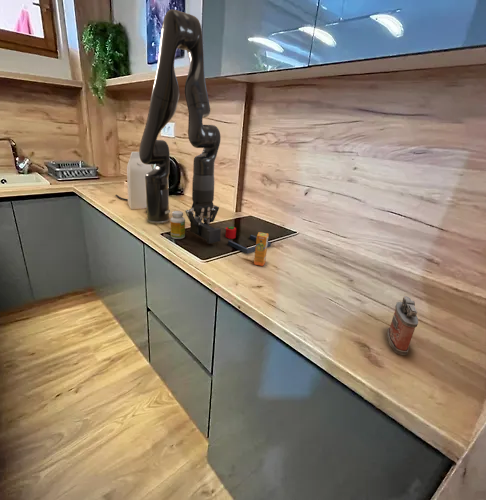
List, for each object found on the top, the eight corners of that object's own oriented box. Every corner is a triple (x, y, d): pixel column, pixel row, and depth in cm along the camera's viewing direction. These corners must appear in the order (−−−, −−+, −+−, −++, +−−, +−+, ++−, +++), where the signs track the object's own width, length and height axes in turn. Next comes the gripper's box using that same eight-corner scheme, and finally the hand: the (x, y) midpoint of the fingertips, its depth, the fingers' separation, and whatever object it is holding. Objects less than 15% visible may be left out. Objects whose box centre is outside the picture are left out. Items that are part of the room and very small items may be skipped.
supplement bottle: (182, 240, 112) (182, 214, 109) (168, 238, 113) (168, 213, 110) (186, 235, 117) (186, 210, 113) (173, 233, 118) (173, 209, 114)
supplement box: (253, 264, 95) (255, 234, 91) (255, 260, 98) (258, 231, 94) (263, 266, 94) (266, 236, 90) (265, 262, 97) (269, 233, 93)
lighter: (384, 328, 68) (396, 290, 64) (401, 332, 67) (414, 293, 63) (392, 352, 61) (405, 311, 57) (410, 356, 60) (426, 314, 56)
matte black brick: (187, 231, 114) (187, 220, 112) (198, 229, 117) (198, 218, 115) (208, 243, 105) (209, 231, 103) (220, 240, 108) (220, 229, 106)
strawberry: (223, 236, 118) (223, 226, 116) (231, 234, 120) (231, 225, 119) (230, 239, 115) (230, 229, 114) (237, 237, 117) (238, 227, 116)
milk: (151, 201, 161) (148, 150, 151) (156, 207, 151) (153, 153, 141) (127, 203, 156) (123, 150, 146) (131, 209, 147) (127, 153, 136)
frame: (227, 244, 110) (228, 240, 110) (251, 238, 117) (251, 234, 117) (246, 253, 103) (247, 249, 103) (270, 246, 110) (271, 242, 110)
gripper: (212, 183, 111) (210, 227, 118) (180, 187, 103) (180, 234, 110) (225, 187, 106) (223, 233, 113) (192, 191, 97) (191, 241, 104)
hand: (201, 234), depth 111 cm, fingers closed on matte black brick, 2 cm apart
